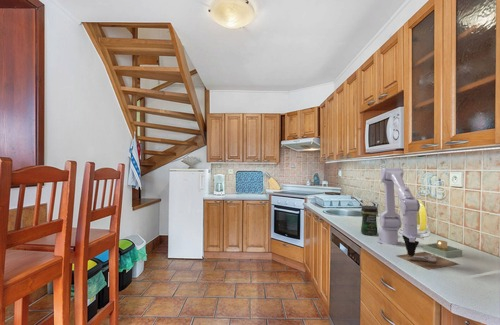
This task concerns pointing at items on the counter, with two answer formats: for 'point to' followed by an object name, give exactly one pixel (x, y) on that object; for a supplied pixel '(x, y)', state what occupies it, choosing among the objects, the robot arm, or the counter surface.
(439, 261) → the crank base
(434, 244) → the tray
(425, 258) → the crank
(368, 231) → the coffee jar
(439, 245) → the pin
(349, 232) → the counter surface
